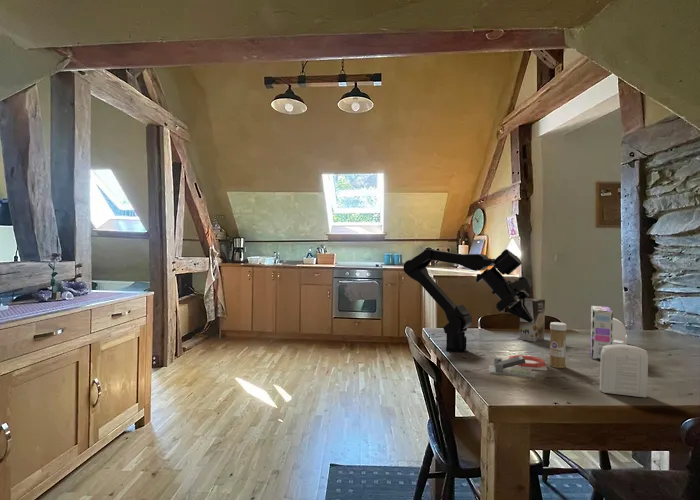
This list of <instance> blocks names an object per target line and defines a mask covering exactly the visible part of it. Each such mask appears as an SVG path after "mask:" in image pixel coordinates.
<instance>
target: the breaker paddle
mask: <svg viewBox="0 0 700 500" xmlns="http://www.w3.org/2000/svg"><path fill="white" fill-rule="evenodd" d="M521 355H522V356H518V357H514V358H511V359H508V358H507V359H504V360H503V359H502V361H500V362H498V363H500V364H503V369H505V368H508V367H512V366H516V365H520V364H523V363H526V362H525V359H524V357H523V354H521Z"/></svg>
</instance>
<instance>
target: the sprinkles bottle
mask: <svg viewBox="0 0 700 500" xmlns="http://www.w3.org/2000/svg"><path fill="white" fill-rule="evenodd" d="M567 326H568V325H567V323H565V322H558V321H553V322H552V321H551V322H550V324H549V328H550V339H549V341H550V343H549V366H550V367H552V368H557V369H564V368H566V366H567V365H566V354H567V352H566V351H567V346H566V345H567V340H566V339H567V329H568V328H567Z"/></svg>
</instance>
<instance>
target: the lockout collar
mask: <svg viewBox="0 0 700 500" xmlns="http://www.w3.org/2000/svg"><path fill="white" fill-rule="evenodd" d="M522 355H523V354H516V355H509V356H508V357H507V359H511V358H514V357H518V356H522ZM523 357H524V359H525V362H526V363H523V364H520V365H516V366H512V367H514V368H526V369H532V371H533V370H535V371H548V368H547V366H546V361H545V360H544V359H543V358H540V357H537V356H532V355H523Z"/></svg>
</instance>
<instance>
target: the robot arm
mask: <svg viewBox="0 0 700 500" xmlns="http://www.w3.org/2000/svg"><path fill="white" fill-rule="evenodd" d="M432 261H437V262H443V263H447V264H453V265H459V266H461V267H463V268H466V269H468V270H471V271H474V272H475V271H477V272H479V271H480V272H481V271H483V272H481V273H477V274H476V281H475V282H476V283H480V282H482V281H484V283H485V284H486V285H487V286H488V287H489V288H490V289H491V294H493V295H496V296H497V297H498V299H499V301H498V302H497V303H496V305H495V306H496V307H495V308H496V309H497V310H498V311H499V313H503V312H504V311H505V309H506V308H508V309H507V310H506V312H507V313H510V314H512V315H514V316H516V317H518V318H519V319H520V318H522V319H524V320H526V321H528V322H532V321H533V318H532V316H531V315H530V313H529V311H528V309H527V307H526V299H528V297H529V296H530V293H528V292H527V291H526V290H525V289H529V288H532V287H533V284H532V279H530V277H526V276H525V275H523V276H520V277H518V280H515V281H514V282H513V281H511V280H509V279H506V278H505V277H504V275H505V274H506V275H510V274H512V273H513V272H514V271H515V270H516V269H518V268H519V267H520V266H521V265H522V264H523V263H522V260H521V259H520V258H519V257H518V256H517V255H515V254H514V253H513V252H512V251H510V250H509V249H508V248H507V249H504V250H503V251H502V252H501V254H500V255H498V256H496V258H490V257H488V256H487V255H486V254H483V253H473V254H472V253H471V254H469V253H467V254H466V253H456V252H451V251H445V250H439V249H434V248H427V249H424V250H423V251H422V252H421V253H419V254H417V255H415V256H414V257H413V258H411V259H409V260H406V261H405V262H404V263H403V269H402V270H403V272H404V274H406V275H407V276H408V277H409V278H410V279H412V280H414V281H416V282H417V283H419V284H420V285H421V287H422V288H423V289H424V290H425V291H426V292H427V293H428V295H429V296H430V297H431V298H432V299H433V300H434V301H435V302H436V304H437V305H438V306H439V307H440V309H442V311H443V312H444V314H445V317H446V320H447V321H448V322H447V324H445V325H444V326H443V331H444V332H443V333H444V334H446V338H445V339H446V344H445V345H446V347H445V351H447V352H458V353H459V352H460V353H466V350H467V338H468V337H467V336H465V335H466V332H467V330H468V328H469V327H470V326H471V325H472V323H473V317H472V315H471V311H469V310H468V309H467V308H466V306H465V305H464V304H460V305H459V304H455V303H454V302H453V300H452V299H451V298H450V297H449V296H448V295H447V293H445V292H444V290H443V289H442V288H441V287H440V286H439V285H438V284H437V283H436V281H434V279H433V278H432V277H431V276H430V274H429V271H428V269H427V267H428V266H430V264H431V263H432ZM488 267H491V268H490V269H489V268H488Z"/></svg>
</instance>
